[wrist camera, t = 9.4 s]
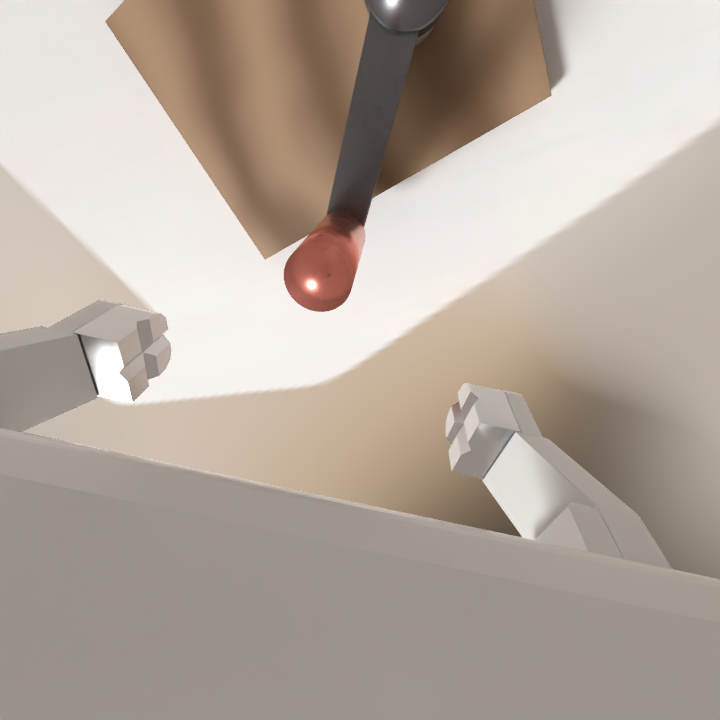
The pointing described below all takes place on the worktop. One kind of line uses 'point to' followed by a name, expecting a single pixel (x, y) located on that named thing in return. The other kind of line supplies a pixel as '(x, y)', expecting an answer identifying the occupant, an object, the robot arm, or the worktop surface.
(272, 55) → the press base
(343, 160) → the lever
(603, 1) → the worktop surface
